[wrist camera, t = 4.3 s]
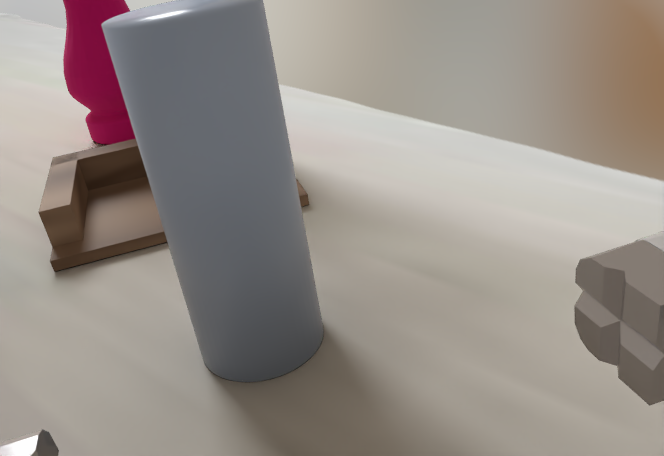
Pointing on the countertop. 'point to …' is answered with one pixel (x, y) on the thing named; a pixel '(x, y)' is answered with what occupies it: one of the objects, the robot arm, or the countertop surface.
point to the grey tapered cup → (222, 178)
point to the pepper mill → (95, 69)
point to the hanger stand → (102, 205)
